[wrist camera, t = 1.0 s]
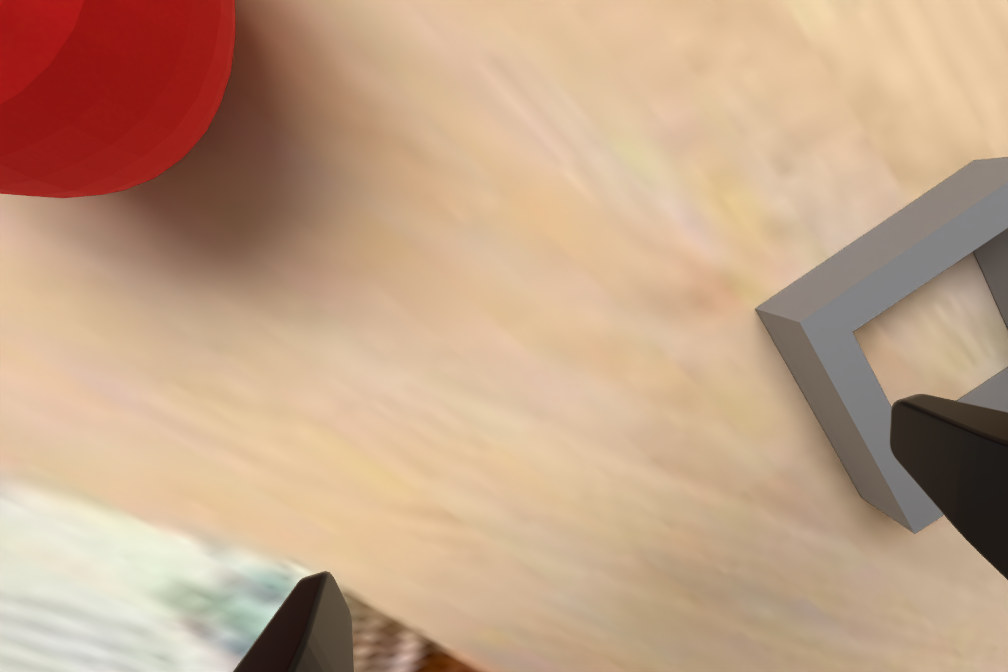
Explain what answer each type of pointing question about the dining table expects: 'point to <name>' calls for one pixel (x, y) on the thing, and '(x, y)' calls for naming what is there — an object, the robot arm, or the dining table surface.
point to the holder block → (868, 292)
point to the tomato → (106, 90)
